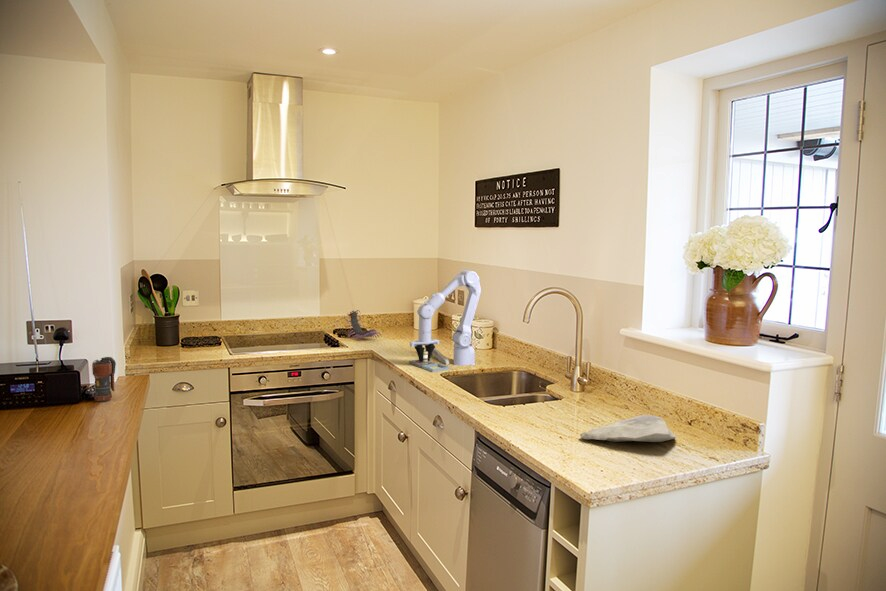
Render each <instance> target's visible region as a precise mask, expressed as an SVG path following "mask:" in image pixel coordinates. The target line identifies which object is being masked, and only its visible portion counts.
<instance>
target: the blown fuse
mask: <svg viewBox="0 0 886 591" xmlns="http://www.w3.org/2000/svg"><path fill="white" fill-rule="evenodd" d="M421 364H428V351H426V350H424V353H423V362H421Z"/></svg>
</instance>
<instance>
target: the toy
mask: <svg viewBox="0 0 886 591" xmlns="http://www.w3.org/2000/svg"><path fill="white" fill-rule="evenodd" d="M359 313H361V312H360V310H352V311H350V312H349V313H348V312H347V318H350V320H348V319H347V318H346V316H344V320H345V321H346V322H348V323H351V324H349V325H347V326H345V329H347V328H348V327H352V329H351V330H350V332H348V334H347V339H349V338H350V337H351V335H353V336H352V339H354V340H356V341H359V340H363V338H364V339H365V338H368V337H369V339H370V338H371V339H372V338H373V339H377V337H378V338H380V337H382V334H381V333H380V332H377V330H376V329H369V330H367V331H364V330H363V329H362V326H361V324H360V323H359V321H360V320H361V315H360V314H359ZM358 317H359V319H358ZM354 334H355V335H354Z"/></svg>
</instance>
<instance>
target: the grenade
mask: <svg viewBox="0 0 886 591" xmlns="http://www.w3.org/2000/svg"><path fill="white" fill-rule="evenodd" d="M91 365H92V367H91V368H92V376H93V377H94V390H95V391H94V397H93V398H94V399H93V400H95V402H98V403H103V402H109V401H111V399H112V397H113V395H112V392H115V373H116V366H117V363H116V360H115V359H114V358H113V357H112V356H104V357H101V358H100V360H99V359H96V360H94V361H93V362H92V364H91Z"/></svg>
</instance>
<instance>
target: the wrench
mask: <svg viewBox="0 0 886 591" xmlns="http://www.w3.org/2000/svg"><path fill="white" fill-rule="evenodd" d="M431 340H433V339H432V338H431ZM432 355H433V356H434V357H435V358H436V359H437V360H438V361H439V363H440V362H441V363H443V365H445V366H449V365H450V360H449V359H448V358H447V357H446V356H444V355H443V354H442V353H441V352H440V351H439V350H438V348H436V347H435V348H434V350H433V352H432V354H431V356H432Z"/></svg>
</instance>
